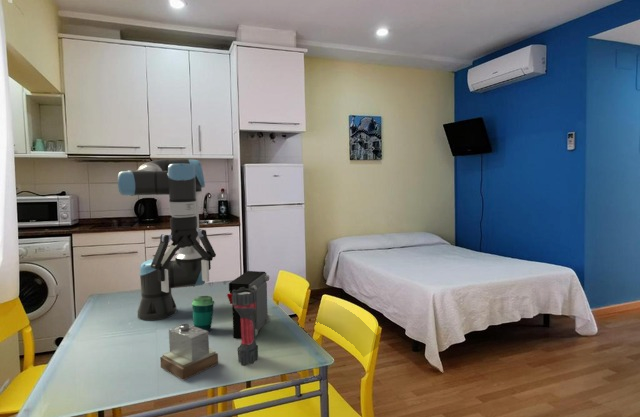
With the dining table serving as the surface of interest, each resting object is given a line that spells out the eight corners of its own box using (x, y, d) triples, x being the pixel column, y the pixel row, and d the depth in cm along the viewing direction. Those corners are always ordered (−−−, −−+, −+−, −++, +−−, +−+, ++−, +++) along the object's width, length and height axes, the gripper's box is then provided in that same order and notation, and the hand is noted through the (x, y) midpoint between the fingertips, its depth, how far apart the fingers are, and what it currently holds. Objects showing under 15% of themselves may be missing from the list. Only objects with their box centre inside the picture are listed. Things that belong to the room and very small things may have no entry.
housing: (192, 361, 110) (191, 334, 109) (169, 351, 116) (168, 326, 116) (209, 353, 115) (208, 328, 114) (186, 344, 121) (185, 320, 121)
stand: (160, 367, 115) (160, 354, 115) (195, 352, 124) (195, 340, 124) (183, 380, 108) (182, 366, 107) (218, 363, 117) (217, 351, 117)
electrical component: (255, 340, 134) (253, 284, 132) (228, 337, 136) (226, 283, 134) (271, 321, 151) (270, 271, 149) (247, 319, 153) (246, 270, 151)
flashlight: (236, 370, 113) (234, 295, 111) (231, 359, 120) (229, 288, 118) (261, 365, 116) (260, 291, 114) (255, 354, 123) (253, 285, 121)
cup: (188, 332, 141) (186, 300, 140) (201, 324, 148) (200, 294, 147) (206, 335, 138) (205, 303, 137) (219, 326, 146) (218, 296, 145)
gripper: (149, 221, 100) (152, 299, 102) (225, 213, 120) (227, 278, 122) (135, 219, 105) (139, 294, 107) (211, 211, 124) (213, 275, 126)
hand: (186, 286), depth 114 cm, fingers open, 13 cm apart
